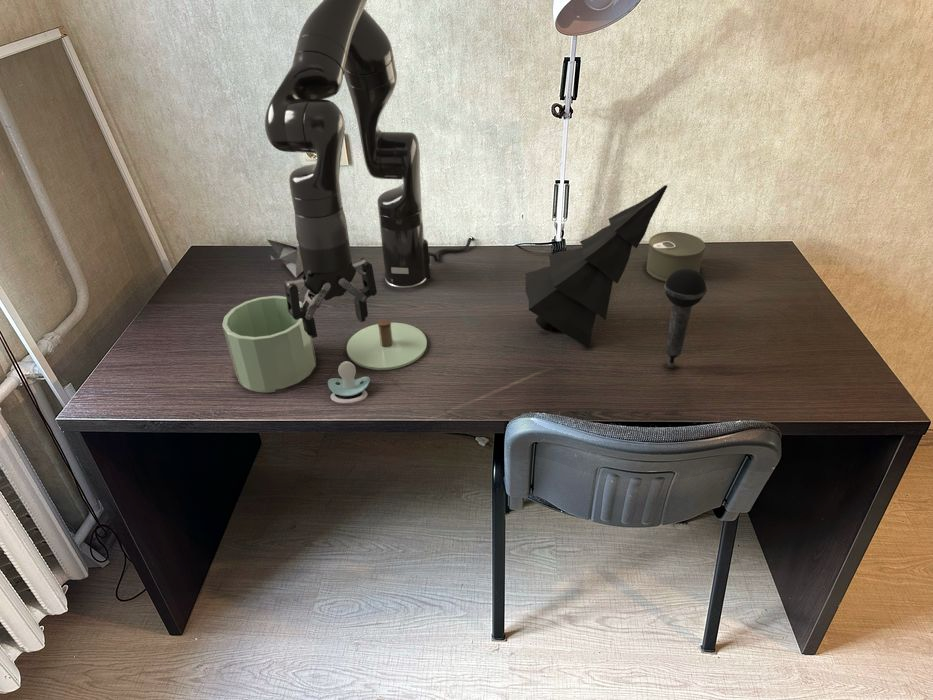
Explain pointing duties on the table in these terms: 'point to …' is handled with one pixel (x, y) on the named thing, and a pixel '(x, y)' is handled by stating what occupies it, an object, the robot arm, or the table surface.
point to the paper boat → (288, 256)
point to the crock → (268, 344)
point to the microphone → (681, 306)
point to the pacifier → (348, 384)
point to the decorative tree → (587, 273)
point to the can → (673, 253)
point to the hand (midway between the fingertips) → (337, 327)
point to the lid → (386, 345)
